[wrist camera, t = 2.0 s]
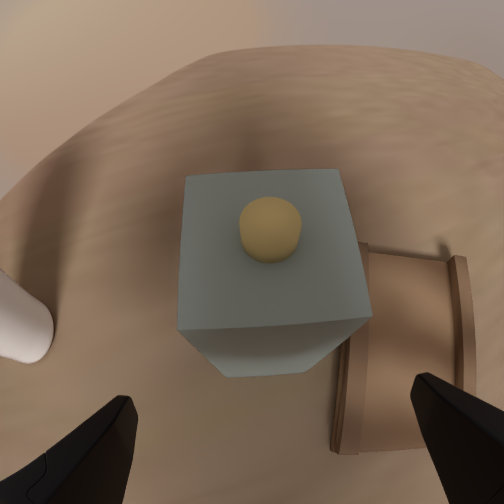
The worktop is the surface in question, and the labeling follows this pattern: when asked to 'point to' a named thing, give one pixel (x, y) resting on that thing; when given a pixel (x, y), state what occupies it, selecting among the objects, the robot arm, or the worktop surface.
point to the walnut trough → (402, 349)
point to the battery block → (269, 270)
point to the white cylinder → (23, 323)
